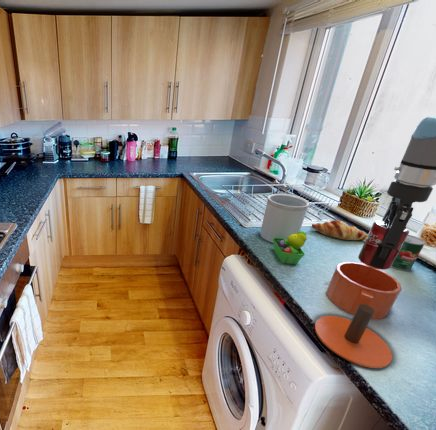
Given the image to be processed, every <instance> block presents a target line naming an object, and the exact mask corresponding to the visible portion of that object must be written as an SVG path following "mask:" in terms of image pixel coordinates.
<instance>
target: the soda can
mask: <svg viewBox="0 0 436 430" xmlns="http://www.w3.org/2000/svg"><path fill="white" fill-rule="evenodd" d="M388 224H389V222H388V221H385V220H382V219H379V220H376V221H374V222H373V223H372V225H371V227H370V230H369V232H368V234H367V235H368V236H367V238H366V240H364V243H363V245H362V246H361V249H360V251H359V254H358V256H357V257H358V260H359V261H360V263H361V262H362V263H363V264H365V265H367V266H369V267H372V268H375V269H379V270H382V271H385V270H389V269H391V268H392V267H391V266H392V265H393V263H394V261H395V259H396V257H397V255H398V253H399V251H400V249H401V247H402V245H403V244H404V242H405V240H406V238H407V236H408V235H410V230H409V228H408V227H407V226H406V227H405V229H404V231H403V234H402V236H401V238H400V240H399V242H398V244H397V246H396V249H395V250H394V249H392V251H391V253H390V255H389V257H388V259H387V261H386V263H385V265H384V267H383V269H381V268H377V267H374V266H371V265H369V264H370V262H371V260H372V258H373V256H374V253H375V251H376V249H377V247H378V245H377V243H381V242H382V239H383V237H384V234H385V232H386V229H387V226H388Z"/></svg>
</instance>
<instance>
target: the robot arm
mask: <svg viewBox="0 0 436 430" xmlns="http://www.w3.org/2000/svg"><path fill="white" fill-rule="evenodd" d="M410 136H411V137H410V141H409V143H408V145H407V147H406V149H405V152H404V154H403V156H402V159H401V160H400V164H399V166H395V167H394V169H393V170H394V171H395V173H394V176H393V178H394V179H393V180H391V182H390V184H389V187H388V189H387V191H386V193H387V195H388V196H390V197H392V198H391V201H390V203H389V205H388V208H387V210H386V211H385V213H384V215H383V217H382V219H381V220H385V221H388V222H389V224H388V226H387V229H386V232H385V234H384V237H383V239H382V242H381V243H377V245H378V247H377V249H376V251H375V253H374V256H373V258H372V260H371V262H370V264H369V265H371V266H374V267H377V268H381V269H383V267H384V265H385V263H386V261H387V259H388V257H389V255H390V253H391V251H392V249H394V250H395V249H396V246H397V244H398V242H399V240H400V238H401V236H402V234H403V231H404V229H405V227H407V225H408V223H409V221H410V220H411V218H412V217H413V211H414V207H413V203H424V202H428V199H429V198H430V196H431V194H432V192H433V190H434V188H433V186H435V185H436V116H426V117H423V118H422V119H421V120H420V121H419V122H418V124H417V126H416V127H415V128H414V131H413V133H412V134H411V135H410ZM381 269H380V270H381Z"/></svg>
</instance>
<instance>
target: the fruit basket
mask: <svg viewBox="0 0 436 430" xmlns="http://www.w3.org/2000/svg"><path fill="white" fill-rule="evenodd" d="M307 239H308V236H307V233H306V232H305V231H303V230H300V231H299V232H297V233H296V234H291V235H289V237H288V239H283V238H273V241H274V243H273V251H274V253H275V254H276V256H277V257H278V259H279V260H280V263H282V264H289V265H297V264H298V263H299V262H300V260H301V259H302V258H303V257H304V256H305V255H306V253H305V252H304V251H303V250H302V247H304V245H305V242H306V241H307Z"/></svg>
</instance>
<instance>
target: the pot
mask: <svg viewBox="0 0 436 430" xmlns="http://www.w3.org/2000/svg"><path fill="white" fill-rule="evenodd" d="M401 291H402V285H401V282H399V280H398V279H397V278H395V276H392V275H391V274H389V273H388V272H386V271H385V270H381V269H375V268H372V267H369V266H367V265H365V264H363V263H362V262H361V261H360V262H356V261H355V262H354V261H342V262H340V263H338V264H337V265H336V267H335V269H334V271H333V273H332V276H331V278H330V281H329V283H328V286H327V289H326V295H327V298H328V299H329V300H330V301H331V302H332V303H333V304H334V305H335V306H337V307H338V308H340V309H341V310H342V311H345V312H346V313H348V314H351V315H353V316H354V315H355V313H356V311H357V309H358V306H359V305H360V304H364V305H367V306H370V307H371V308H373V309H374V310H375V313H374V315H373V317H372V318H371V320H373V321H374V320H382V319H384V318H386V317H387V316H388V315H389V314H390V311H391V310H392V308H393V306H394V304H395V302H396V300H397V298H398V297H399V296H400V293H401Z"/></svg>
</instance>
